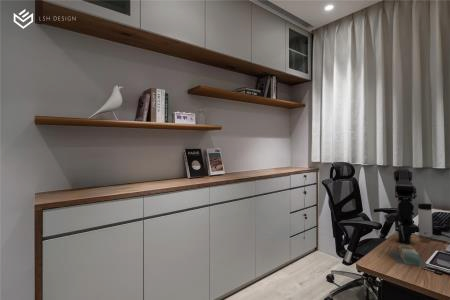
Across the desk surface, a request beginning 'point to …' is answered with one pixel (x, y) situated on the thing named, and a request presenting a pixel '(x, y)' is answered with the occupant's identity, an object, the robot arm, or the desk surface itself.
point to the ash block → (409, 255)
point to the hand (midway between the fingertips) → (405, 241)
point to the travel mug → (425, 220)
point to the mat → (399, 260)
